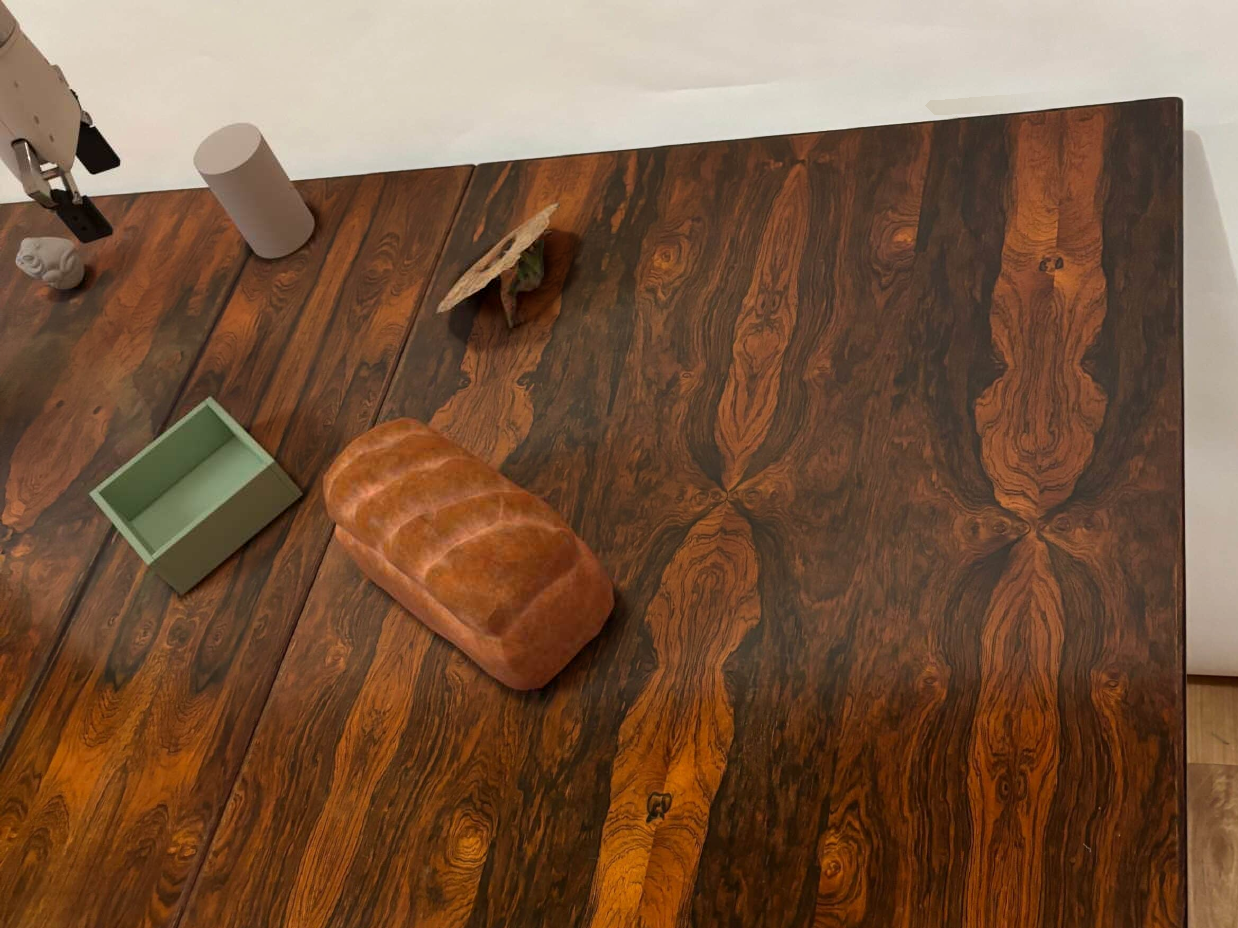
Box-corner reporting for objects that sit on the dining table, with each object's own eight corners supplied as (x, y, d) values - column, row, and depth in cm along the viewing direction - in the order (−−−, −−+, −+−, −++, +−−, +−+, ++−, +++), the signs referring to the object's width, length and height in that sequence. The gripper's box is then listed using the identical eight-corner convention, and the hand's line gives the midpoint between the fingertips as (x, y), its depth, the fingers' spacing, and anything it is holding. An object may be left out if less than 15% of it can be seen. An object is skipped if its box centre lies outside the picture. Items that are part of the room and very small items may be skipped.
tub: (182, 595, 116) (147, 565, 111) (123, 525, 123) (88, 493, 118) (303, 494, 119) (274, 460, 114) (239, 430, 125) (209, 395, 120)
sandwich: (493, 298, 135) (459, 236, 131) (600, 256, 129) (568, 189, 125) (439, 372, 122) (399, 306, 118) (555, 329, 116) (517, 258, 112)
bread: (529, 713, 101) (460, 625, 87) (348, 567, 113) (264, 469, 100) (636, 599, 104) (586, 496, 90) (449, 468, 116) (380, 361, 102)
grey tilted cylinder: (326, 213, 139) (274, 126, 129) (291, 262, 136) (234, 178, 126) (275, 205, 142) (219, 119, 132) (239, 253, 140) (180, 169, 129)
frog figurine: (45, 280, 146) (5, 237, 140) (95, 257, 146) (57, 212, 140) (49, 311, 143) (8, 268, 137) (100, 286, 143) (62, 242, 137)
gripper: (-61, -15, 98) (74, 156, 113) (-94, 110, 90) (57, 277, 105) (19, -44, 98) (145, 132, 112) (-6, 80, 89) (133, 253, 104)
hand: (102, 202), depth 108 cm, fingers open, 9 cm apart
